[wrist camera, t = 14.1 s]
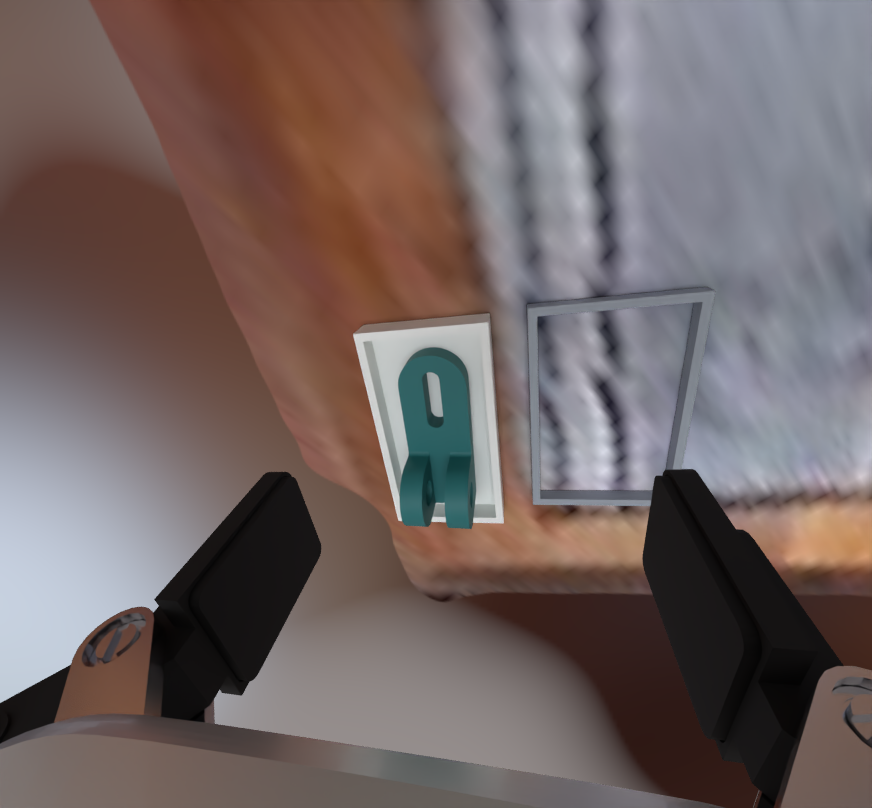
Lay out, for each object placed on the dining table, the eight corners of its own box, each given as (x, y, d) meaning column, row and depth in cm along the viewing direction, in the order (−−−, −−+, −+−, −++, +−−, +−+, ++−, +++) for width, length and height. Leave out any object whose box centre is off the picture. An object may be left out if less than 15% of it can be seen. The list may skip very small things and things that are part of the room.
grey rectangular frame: (707, 286, 32) (715, 290, 30) (669, 496, 42) (674, 506, 41) (526, 304, 35) (527, 308, 34) (532, 495, 45) (533, 504, 44)
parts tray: (489, 313, 36) (488, 322, 33) (503, 504, 46) (503, 523, 44) (363, 324, 38) (353, 334, 36) (404, 503, 49) (398, 521, 47)
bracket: (476, 490, 45) (470, 543, 38) (420, 489, 46) (405, 539, 40) (466, 345, 37) (456, 380, 30) (399, 348, 38) (375, 382, 31)
